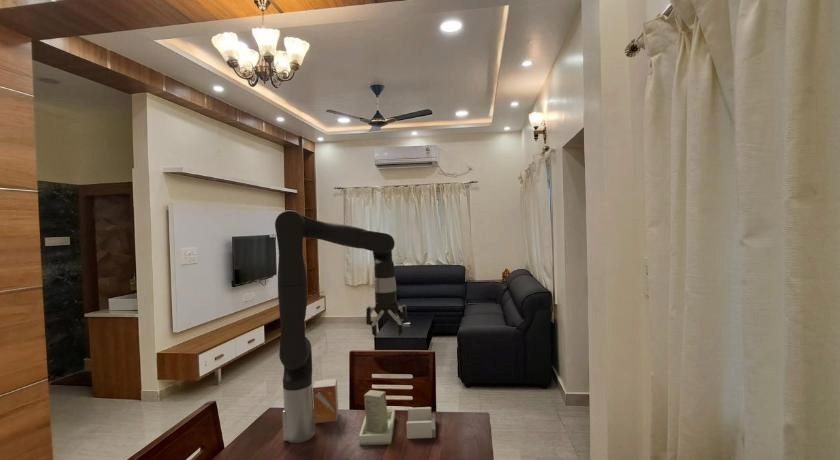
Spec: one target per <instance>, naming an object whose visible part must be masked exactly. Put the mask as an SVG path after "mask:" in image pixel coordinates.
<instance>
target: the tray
mask: <svg viewBox="0 0 840 460" xmlns="http://www.w3.org/2000/svg"><path fill="white" fill-rule="evenodd" d="M395 411H396V410H395V409H392V410H391V409H389V410H387V418H388V428H387V429H386V430H385V431H384V432H383V433H378V432H372V431H367V427H366V414H365V416H364V417H363V422H362V425H361V428H360V432H359V435H358V440H359V441H358V442H359V443H358V445H359V446H375V445H376V446H379V445H382V446H383V445H392V441H393V433H394V428H395V420H396V412H395Z"/></svg>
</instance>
